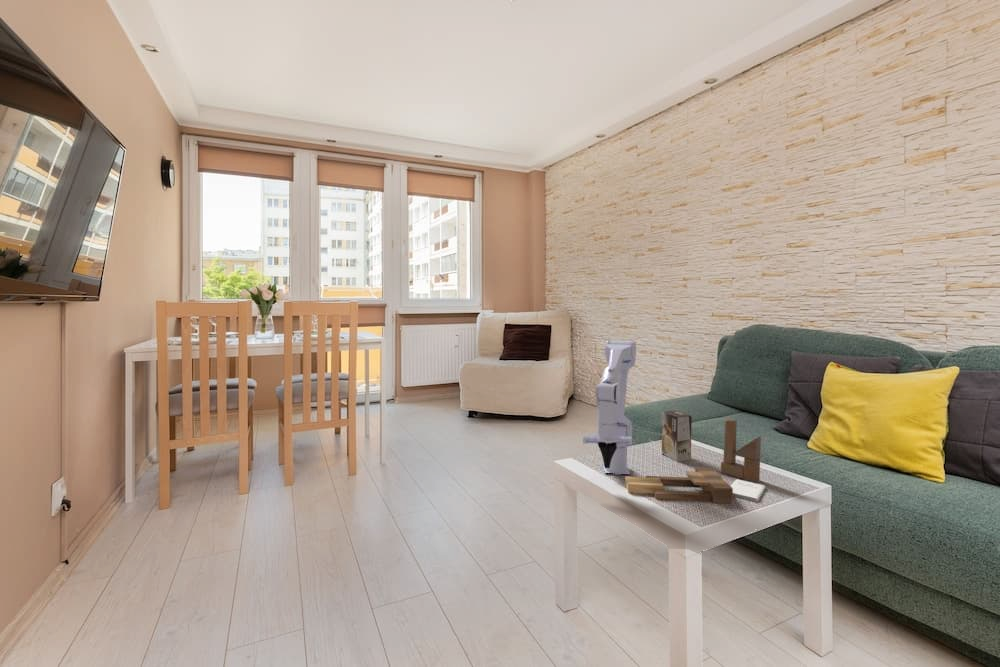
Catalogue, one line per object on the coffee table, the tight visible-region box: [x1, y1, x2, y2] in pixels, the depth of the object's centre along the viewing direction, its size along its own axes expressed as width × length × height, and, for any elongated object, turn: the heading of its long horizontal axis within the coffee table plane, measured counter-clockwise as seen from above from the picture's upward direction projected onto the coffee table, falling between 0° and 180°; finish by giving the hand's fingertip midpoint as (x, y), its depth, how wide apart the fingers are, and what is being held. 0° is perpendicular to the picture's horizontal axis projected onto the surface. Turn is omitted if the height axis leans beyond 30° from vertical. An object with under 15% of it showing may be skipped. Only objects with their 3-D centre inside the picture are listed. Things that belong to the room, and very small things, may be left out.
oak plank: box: [624, 475, 664, 495], centre depth 138 cm, size 6×10×3 cm, turn 82°
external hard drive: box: [730, 479, 766, 503], centre depth 136 cm, size 2×8×12 cm
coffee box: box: [661, 410, 692, 462], centre depth 167 cm, size 9×6×16 cm
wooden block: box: [720, 418, 762, 483], centre depth 148 cm, size 4×11×18 cm, turn 39°
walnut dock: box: [645, 467, 733, 504], centre depth 137 cm, size 16×20×4 cm
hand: (606, 466), depth 139 cm, fingers closed
